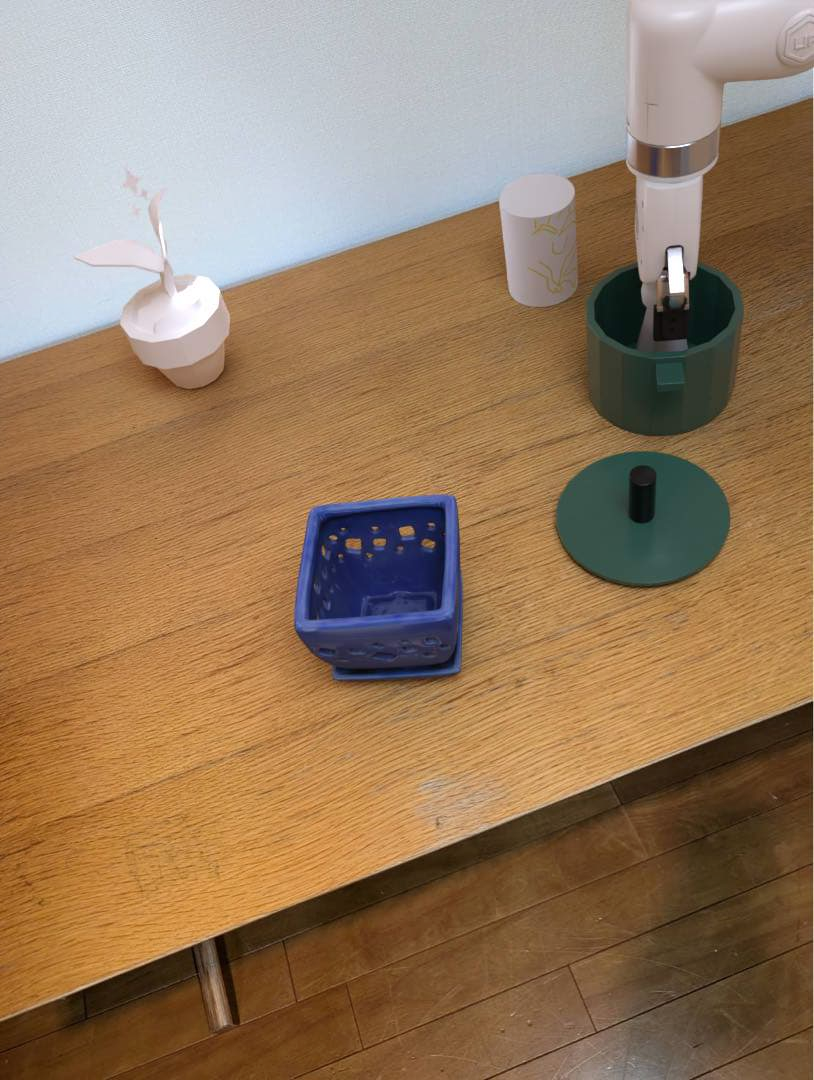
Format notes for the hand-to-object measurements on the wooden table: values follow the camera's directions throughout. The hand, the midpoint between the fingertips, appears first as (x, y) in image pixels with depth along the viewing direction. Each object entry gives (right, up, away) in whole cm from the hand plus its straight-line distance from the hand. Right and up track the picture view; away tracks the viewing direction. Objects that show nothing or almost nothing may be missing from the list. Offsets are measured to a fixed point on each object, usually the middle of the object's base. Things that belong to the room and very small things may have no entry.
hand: (666, 304), depth 95 cm
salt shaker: (+1, -6, +8) cm, 10 cm away
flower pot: (-25, -31, -5) cm, 41 cm away
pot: (+1, -6, +8) cm, 10 cm away
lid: (-3, -21, -3) cm, 21 cm away
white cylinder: (-9, +7, +21) cm, 24 cm away
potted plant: (-50, -3, +22) cm, 55 cm away
